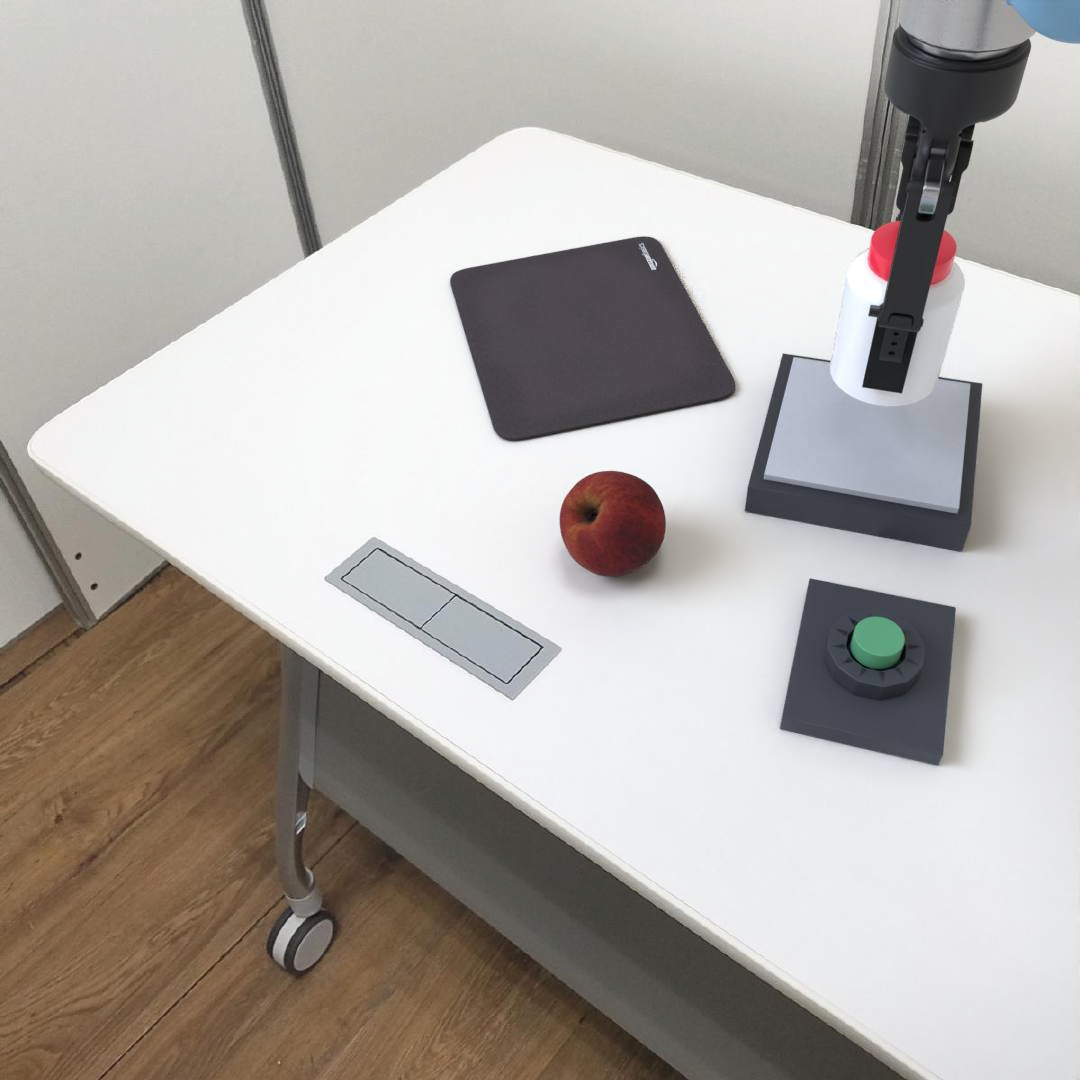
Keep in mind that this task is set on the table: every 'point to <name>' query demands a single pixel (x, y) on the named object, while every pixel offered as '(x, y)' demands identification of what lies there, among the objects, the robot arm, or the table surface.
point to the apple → (612, 523)
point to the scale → (867, 458)
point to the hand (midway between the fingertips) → (888, 348)
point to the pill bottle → (858, 328)
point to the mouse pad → (586, 338)
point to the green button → (877, 642)
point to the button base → (871, 674)
